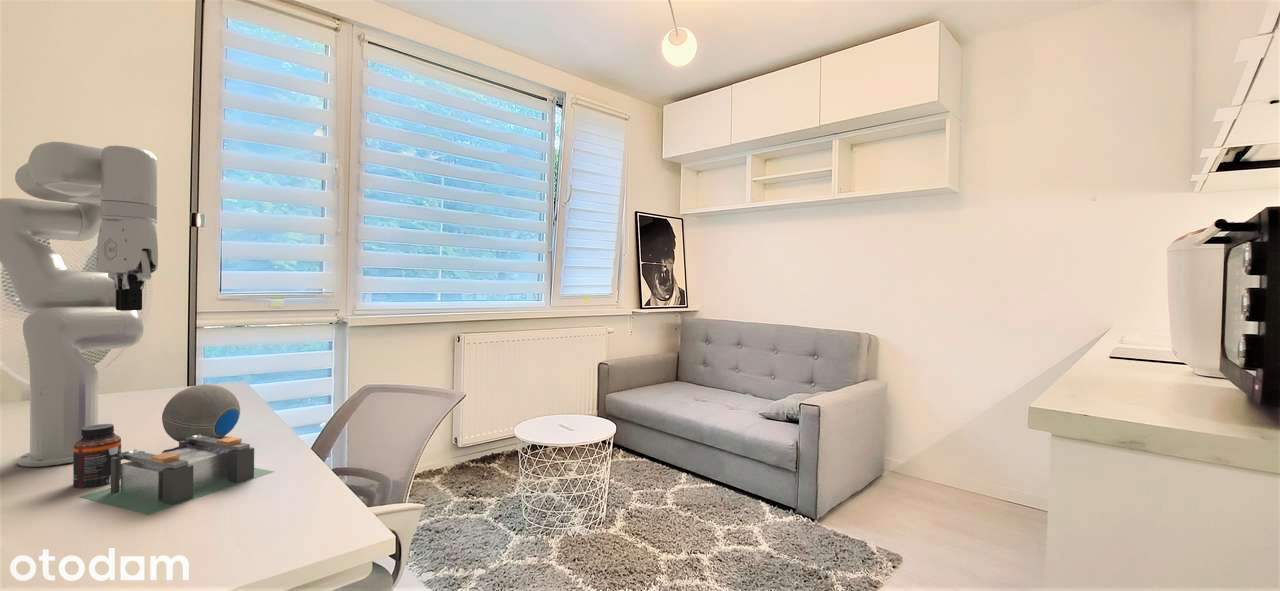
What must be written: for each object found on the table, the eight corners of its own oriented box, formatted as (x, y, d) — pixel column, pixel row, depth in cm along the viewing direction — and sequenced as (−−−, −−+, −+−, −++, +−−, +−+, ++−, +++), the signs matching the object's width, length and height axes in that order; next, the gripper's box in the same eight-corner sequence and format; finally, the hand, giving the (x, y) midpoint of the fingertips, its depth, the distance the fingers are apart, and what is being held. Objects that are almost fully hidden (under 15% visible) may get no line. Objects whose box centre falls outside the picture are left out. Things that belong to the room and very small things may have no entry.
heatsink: (120, 492, 88) (120, 463, 88) (205, 467, 100) (205, 442, 100) (158, 501, 85) (158, 471, 85) (240, 474, 97) (241, 448, 97)
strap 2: (184, 443, 98) (184, 434, 98) (198, 439, 100) (198, 431, 100) (237, 452, 93) (237, 443, 93) (250, 449, 96) (250, 440, 96)
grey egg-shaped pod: (200, 442, 119) (201, 378, 119) (254, 444, 118) (255, 380, 118) (145, 461, 106) (145, 390, 106) (204, 464, 106) (205, 392, 105)
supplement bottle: (127, 485, 94) (128, 424, 93) (81, 497, 88) (82, 432, 88) (112, 479, 96) (112, 420, 96) (66, 491, 91) (67, 428, 91)
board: (78, 503, 86) (79, 461, 86) (211, 465, 105) (211, 430, 105) (147, 521, 80) (148, 476, 80) (274, 477, 99) (274, 440, 99)
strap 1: (117, 459, 89) (117, 450, 89) (134, 455, 91) (134, 446, 91) (172, 471, 84) (172, 461, 84) (189, 466, 86) (189, 456, 86)
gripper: (79, 211, 95) (78, 309, 96) (129, 210, 91) (128, 312, 91) (129, 217, 102) (129, 308, 103) (179, 215, 98) (178, 311, 98)
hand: (129, 310), depth 97 cm, fingers closed
